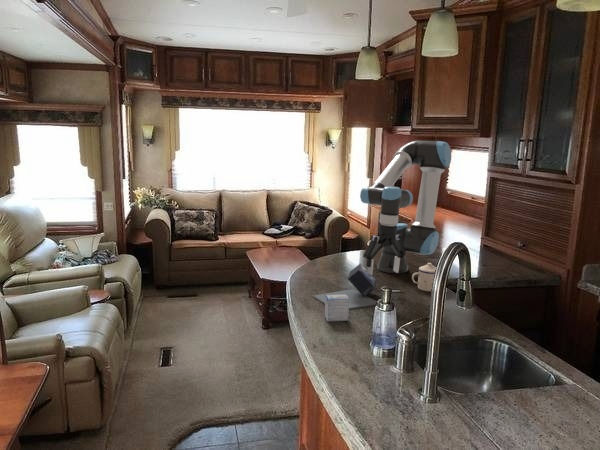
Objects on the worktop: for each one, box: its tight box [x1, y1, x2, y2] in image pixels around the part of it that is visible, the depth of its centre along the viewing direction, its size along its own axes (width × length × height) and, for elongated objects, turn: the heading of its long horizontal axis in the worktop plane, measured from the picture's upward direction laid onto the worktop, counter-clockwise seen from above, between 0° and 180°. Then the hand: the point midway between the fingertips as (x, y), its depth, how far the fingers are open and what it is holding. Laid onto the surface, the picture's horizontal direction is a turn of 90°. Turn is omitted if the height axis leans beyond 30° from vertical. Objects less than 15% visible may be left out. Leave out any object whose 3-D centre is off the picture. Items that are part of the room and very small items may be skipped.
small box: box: [347, 263, 377, 297], centre depth 199 cm, size 11×6×10 cm
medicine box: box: [324, 295, 350, 322], centre depth 172 cm, size 8×4×9 cm, turn 100°
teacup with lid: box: [411, 262, 437, 292], centre depth 209 cm, size 12×9×12 cm
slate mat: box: [312, 288, 378, 310], centre depth 193 cm, size 20×18×1 cm
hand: (382, 273), depth 201 cm, fingers open, 13 cm apart
